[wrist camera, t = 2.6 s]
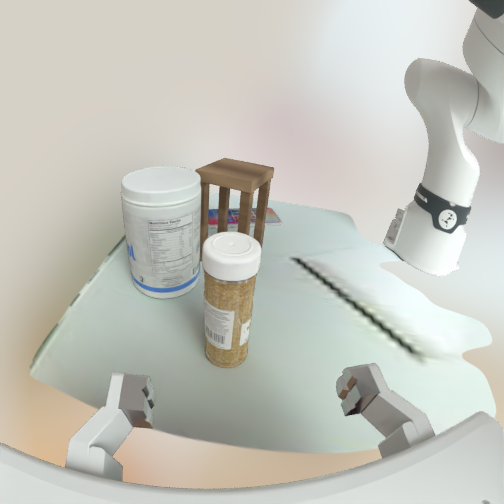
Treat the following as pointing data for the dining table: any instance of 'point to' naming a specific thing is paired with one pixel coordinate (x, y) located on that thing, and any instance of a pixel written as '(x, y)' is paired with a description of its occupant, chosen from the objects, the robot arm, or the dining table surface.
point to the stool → (247, 182)
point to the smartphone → (234, 217)
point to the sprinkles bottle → (229, 295)
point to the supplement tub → (163, 229)
